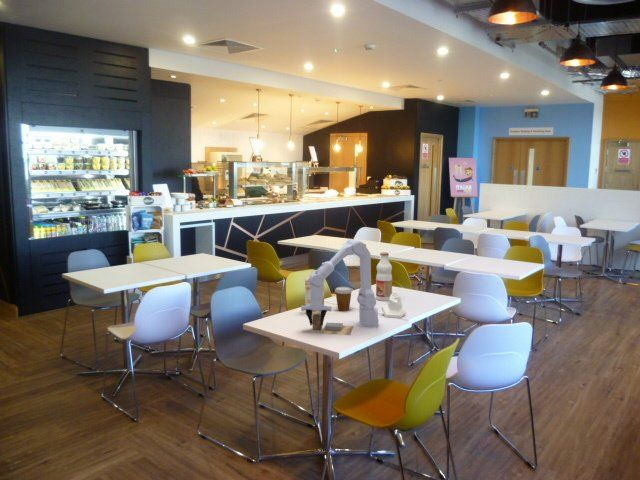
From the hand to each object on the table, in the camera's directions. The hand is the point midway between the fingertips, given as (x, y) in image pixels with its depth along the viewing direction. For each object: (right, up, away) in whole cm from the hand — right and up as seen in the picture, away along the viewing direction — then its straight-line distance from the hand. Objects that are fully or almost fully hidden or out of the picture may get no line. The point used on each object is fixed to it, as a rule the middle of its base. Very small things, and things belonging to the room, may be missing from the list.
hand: (316, 325), depth 258 cm
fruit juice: (+40, +6, +60) cm, 72 cm away
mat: (+10, -3, +1) cm, 11 cm away
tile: (+9, -1, +5) cm, 10 cm away
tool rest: (0, -3, 0) cm, 3 cm away
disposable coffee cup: (+15, +2, +38) cm, 41 cm away
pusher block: (0, -2, +2) cm, 3 cm away
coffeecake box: (-1, +2, +35) cm, 35 cm away
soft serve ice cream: (+41, +1, +27) cm, 50 cm away
